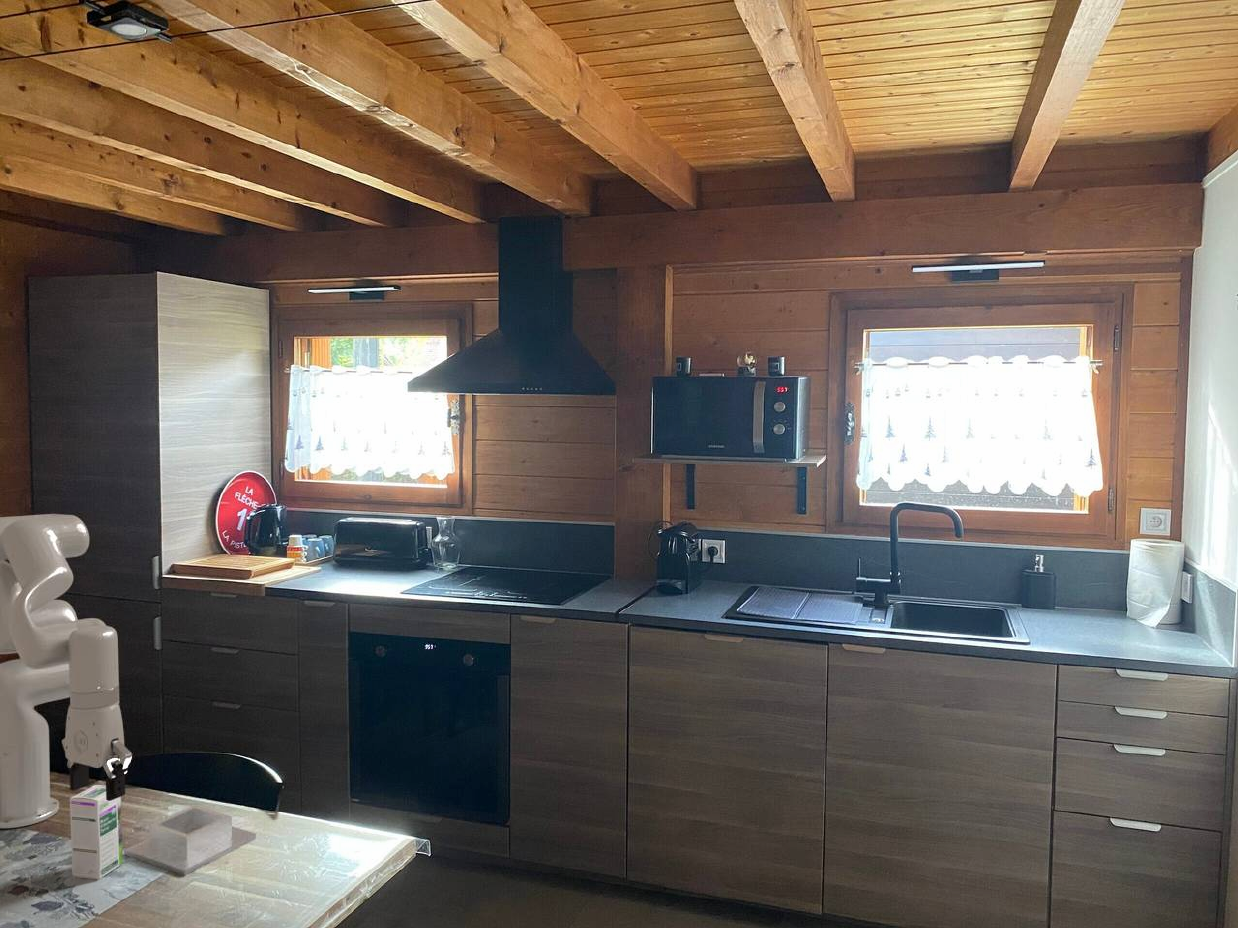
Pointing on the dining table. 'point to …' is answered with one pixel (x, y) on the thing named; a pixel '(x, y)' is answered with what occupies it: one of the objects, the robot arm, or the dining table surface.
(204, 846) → the sleeve holder
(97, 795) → the syrup box
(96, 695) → the robot arm
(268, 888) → the dining table surface
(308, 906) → the dining table surface
